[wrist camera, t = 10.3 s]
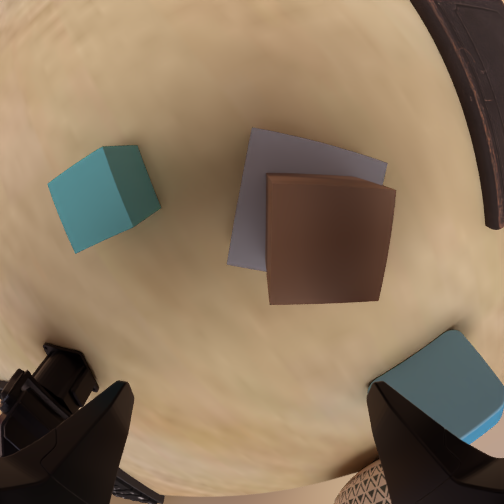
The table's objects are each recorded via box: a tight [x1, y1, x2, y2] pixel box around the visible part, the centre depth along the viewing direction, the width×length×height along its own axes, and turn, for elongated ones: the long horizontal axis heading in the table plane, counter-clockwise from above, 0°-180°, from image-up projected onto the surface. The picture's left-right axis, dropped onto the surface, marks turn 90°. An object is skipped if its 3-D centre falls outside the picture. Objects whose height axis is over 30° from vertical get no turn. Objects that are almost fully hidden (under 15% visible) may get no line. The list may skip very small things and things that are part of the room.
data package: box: [368, 330, 504, 444], centre depth 19 cm, size 12×4×12 cm, turn 127°
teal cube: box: [48, 145, 161, 254], centre depth 16 cm, size 5×5×5 cm
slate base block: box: [227, 127, 387, 272], centre depth 17 cm, size 8×8×4 cm
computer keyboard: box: [0, 381, 165, 504], centre depth 36 cm, size 45×16×4 cm, turn 17°
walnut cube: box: [265, 173, 396, 305], centre depth 13 cm, size 5×5×5 cm
